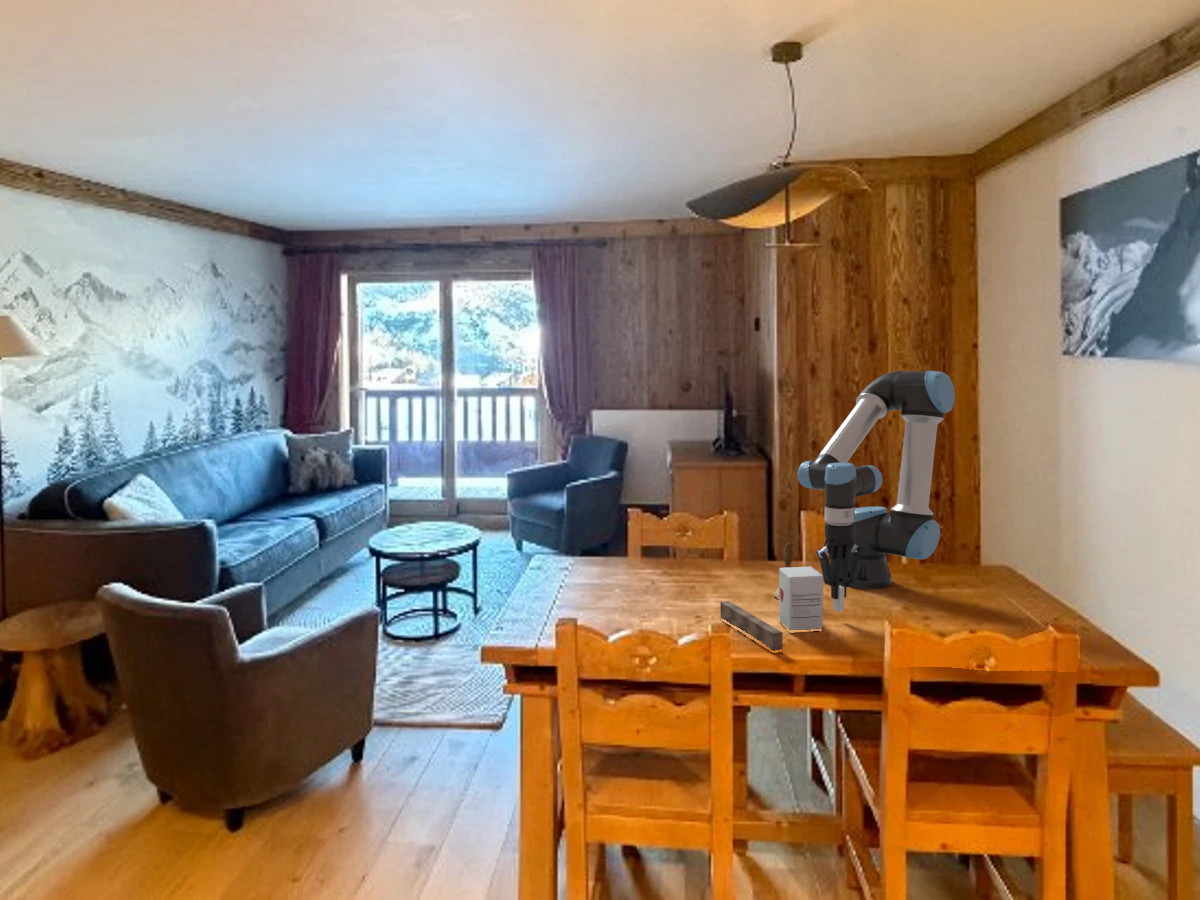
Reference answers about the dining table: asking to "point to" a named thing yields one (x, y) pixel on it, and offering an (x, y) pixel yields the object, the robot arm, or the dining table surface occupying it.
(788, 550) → the hand bell
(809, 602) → the supplement box
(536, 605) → the dining table surface
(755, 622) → the board
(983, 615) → the dining table surface
